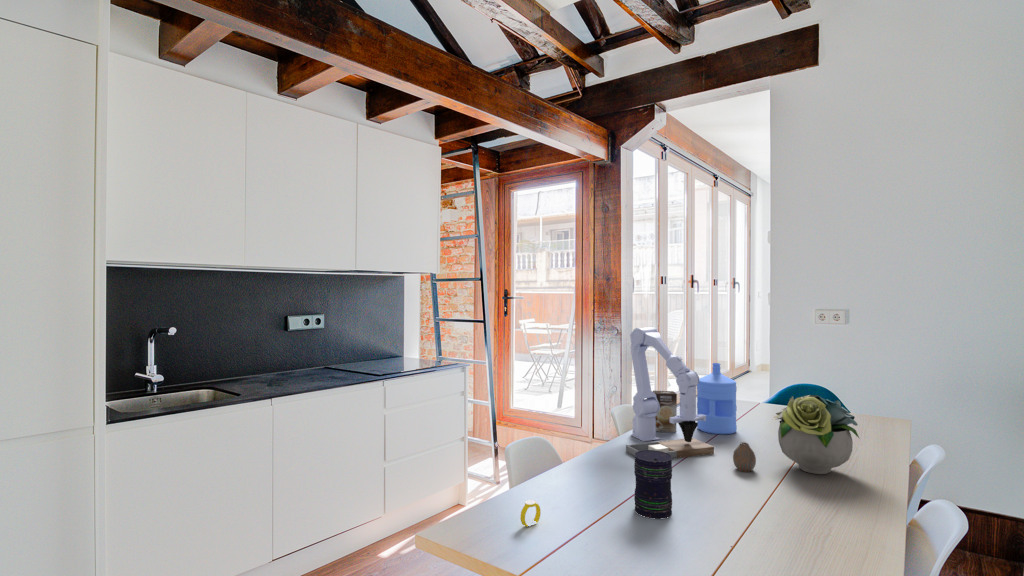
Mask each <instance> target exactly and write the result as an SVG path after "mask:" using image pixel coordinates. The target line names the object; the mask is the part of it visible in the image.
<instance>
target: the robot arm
mask: <svg viewBox="0 0 1024 576" xmlns="http://www.w3.org/2000/svg"><path fill="white" fill-rule="evenodd" d="M629 336H630V343H631V344H630V354H631V360H632V366H633V372H634V379H635V386H636V391H637V392H636V393H635V395H634V396H633V398H632V399H633V400H632V401H633V404H632V410H633V412H634V415H633V417H632V433H630V435H631V437H634V438H636V439H637V440H640V441H641V442H649V441H650V442H651V441H656V440H658V441H659V440H661V437H658V436H656V434H657V433H656V432H657V431H656V415H657V412H658V411H659V409H660V405H659V402H658V400H657V397H656V394H655V393H654V392H653V390H652V387H651V386H652V385H651V381H650V374H649V368H648V363H647V362H648V361H647V356H646V351H647V350H648V348H649V347H653V348H654V349H655V351H656V352H657V353H658V354H659V355H660V356H661V357H662V358H663V359H664V360H665V366H666V367H667V369H669V371H670V372H671V373H672V375H673V376H674V378H676V379H675V383H676V385H677V386H678V391H679V415H677V416H675V417H670V423H672V424H675V423H676V424H678V426H679V428H680V429H681V432H682V435H683V439H684V440H685V441H686V442H691V440H692V438H693V436H694V433H695V431H696V429H697V426H698V423H697V421H702V420H703V421H706V415H703V414H701V415H697V385H698V384H699V378H700V377H699V375H698V373H697V372H696V371H694V370H691V369H690V367H688V366H687V364H685V362H684V361H683V359H682V357H679V355H674V354H673V353H672V351H671V350H670V348H669V347H668V346H667V344H666V343H665V342H664V340H663V338H662V337H661V333H660V332H659V331H658V329H657V328H655V327H653V326H650V327H636V328H634V329H633V330H632V331H631V332H630V335H629Z"/></svg>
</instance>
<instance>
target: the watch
mask: <svg viewBox="0 0 1024 576" xmlns="http://www.w3.org/2000/svg"><path fill="white" fill-rule="evenodd" d="M533 507H535V516H534V518H533V520H534V521H536V522H537V523H539V521H540V518H541V507H540V505H539V504H538V503H537V501H536V500H533V499H527V500H525V502H524V505H523V507H522V509H521V512H520V522H521V525H522V526H524V525H525V526H524V527H526V526H528V525H527V524H528V523H526V513H527V511H528V509H529V508H533Z"/></svg>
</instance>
